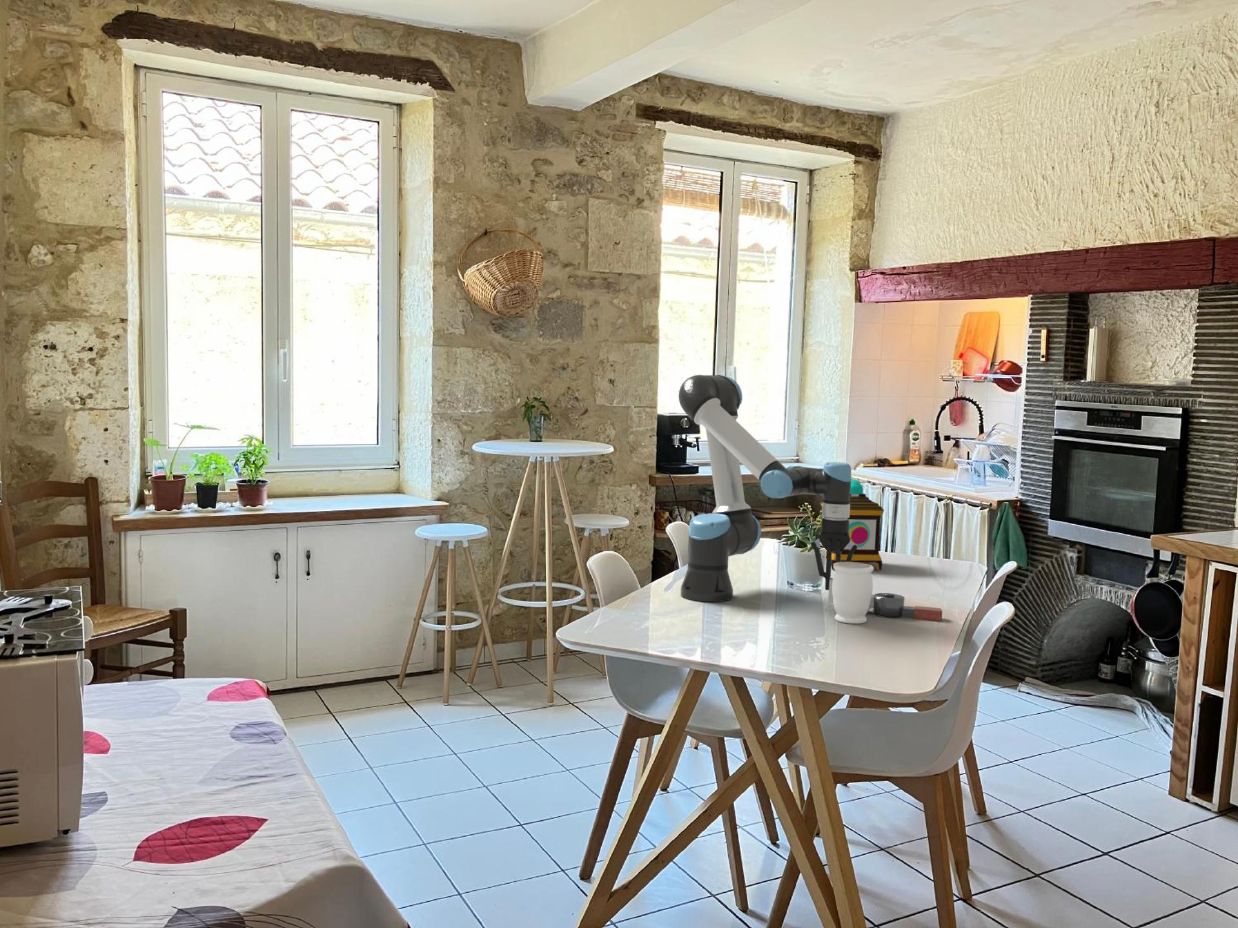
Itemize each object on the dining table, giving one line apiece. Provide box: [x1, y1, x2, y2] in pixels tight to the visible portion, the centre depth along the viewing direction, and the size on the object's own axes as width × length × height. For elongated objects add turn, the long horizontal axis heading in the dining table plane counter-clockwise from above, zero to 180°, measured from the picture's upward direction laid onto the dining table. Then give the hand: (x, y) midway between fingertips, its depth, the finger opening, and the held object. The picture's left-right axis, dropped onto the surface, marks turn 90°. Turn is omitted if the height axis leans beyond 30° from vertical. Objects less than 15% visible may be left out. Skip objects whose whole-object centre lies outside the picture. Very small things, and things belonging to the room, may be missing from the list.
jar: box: [832, 562, 874, 625], centre depth 263 cm, size 11×10×15 cm
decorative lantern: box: [820, 478, 885, 571], centre depth 337 cm, size 20×20×30 cm
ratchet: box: [869, 592, 943, 622], centre depth 270 cm, size 22×8×6 cm, turn 73°
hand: (831, 601), depth 275 cm, fingers closed
